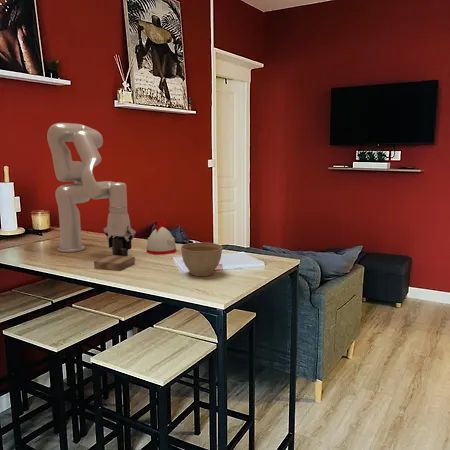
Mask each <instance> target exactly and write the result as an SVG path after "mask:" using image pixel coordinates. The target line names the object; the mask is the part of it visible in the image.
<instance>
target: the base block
mask: <svg viewBox="0 0 450 450" xmlns="http://www.w3.org/2000/svg"><path fill="white" fill-rule="evenodd" d="M135 260H136V258H135V256H130V255H128V256H116V255H112V254H109V255H107V256H104V257H102V258H99V259H97V260H94V261H93V265H94V266H93V267H94V269H96V270H105V271H106V270H107V271H117V272H118V271H119V272H120V271H124V270H125V269H127V268H130V267H131V266H133V265H135V263H136V261H135Z"/></svg>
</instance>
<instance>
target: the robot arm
mask: <svg viewBox="0 0 450 450" xmlns="http://www.w3.org/2000/svg"><path fill="white" fill-rule="evenodd" d="M46 133H47V134H46V137H47V138H46V140H47V142H48V147H49V149H50V153H51V157H52V163H53V168H54V173H55V177H56V179H57V181H59V182H62V183H63V182H73V183H70V184H69V183H67V184H66V183H65V184H62V185H60V186H58V187H57V188H56V190H55V194H54V195H55V200H56V204H57V209H58V219H59V235H60V236H59V238H60V239H58V240H57V241H56V242H55V244H56V245H59V246H58V247H57V251H58V252H61V253H73V252H74V253H75V252H81V251H84V250H85V249H86V246H85V245H84V244H82V230H81V213H80V210H79V208H78V206H77V204H83V203H87V202H89V201H90V199H92V200H101V199H109V200H108V201H109V207H108V211H109V213H108V215H107V221H106V223H107V224H106V227H104V228H103V232H104V234H105V236H106V239H107V240H108V248H109V249H110V248H112V239H113V238H114V237H115V236H118V237H125V239H126V240H127V241H126V242H125V243H126V250H128V251H129V250H131V249H132V241H133V239H134V238H135V236H136V235H135V234H136V233H137V231H136V230H135V229H134V228H132V227H131V219H130V216H129V213H128V196H127V194H128V193H127V184H126V183H125V182H119V181H117V182H116V181H111V180H109V181H108V180H105V181H97V180H96V179H95V176H94V173H93V171H94V168H95V167H97V166H98V165H99V164H100V163H101V162H102V156H101V153H99V150H98V149H100V148H102V146H103V143H104V139H103V135H102V134H101V133H100V132H99V131H98V130H97V129H94V128H92V127H89V126H86V125H84V124H80V123H69V122H57V123H54V124H52V125H50V127H49V128H48V130H47V132H46ZM68 142H69V143H71V142H72V144H73V145H74V147H75V149H76V152H77V154H78V157H80V158H79V159H80V161H78V160H76V161H75V160H73V158H72V153H71V150H70V148H69V147H68V145H67V144H66V143H68Z"/></svg>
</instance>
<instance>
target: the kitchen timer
mask: <svg viewBox="0 0 450 450" xmlns="http://www.w3.org/2000/svg"><path fill="white" fill-rule="evenodd" d="M167 223H168V222H166V220H165V219H160V220H158V223H156V226H155V228H154V230H153V231H152V232H151V234H150V235H149V237H147V244H146V253H147V254H148V255H158V256H161V255H162V256H163V255H171V254H174V253H176V252H177V245H176V238H175V237H173V235H172V233H171V231H170V230H168V229H167V228H166V227H167Z"/></svg>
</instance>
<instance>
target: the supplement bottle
mask: <svg viewBox="0 0 450 450" xmlns="http://www.w3.org/2000/svg"><path fill="white" fill-rule="evenodd" d="M126 241H127V240H126V239H125V237H118V236H114V237H113V239H112V247H111V248H112V249H111V251H112V254H111V255H116V256H129V250H126V243H125V242H126Z"/></svg>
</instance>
